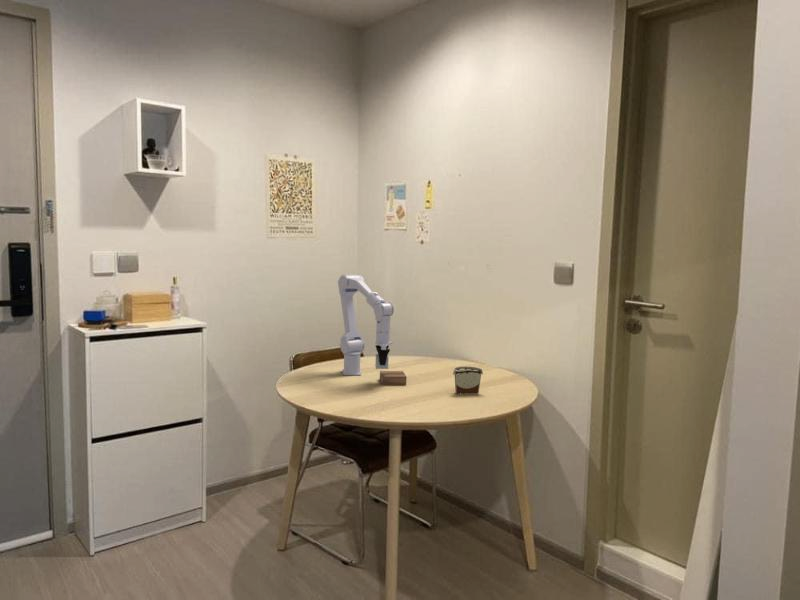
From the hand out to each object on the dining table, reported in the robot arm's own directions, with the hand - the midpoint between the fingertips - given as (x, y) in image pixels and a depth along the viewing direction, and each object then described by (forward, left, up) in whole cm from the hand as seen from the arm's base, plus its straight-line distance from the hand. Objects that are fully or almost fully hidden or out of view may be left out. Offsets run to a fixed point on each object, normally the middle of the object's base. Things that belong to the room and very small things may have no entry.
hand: (382, 363), depth 250 cm
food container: (+13, +33, -9) cm, 36 cm away
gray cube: (0, 0, -2) cm, 2 cm away
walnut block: (-2, +5, -9) cm, 10 cm away
